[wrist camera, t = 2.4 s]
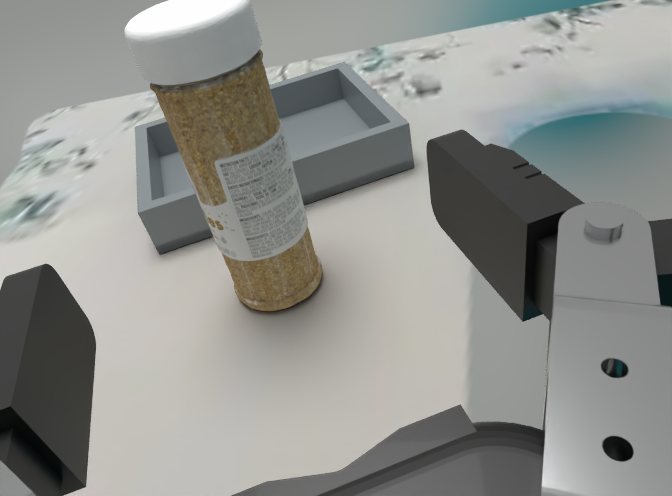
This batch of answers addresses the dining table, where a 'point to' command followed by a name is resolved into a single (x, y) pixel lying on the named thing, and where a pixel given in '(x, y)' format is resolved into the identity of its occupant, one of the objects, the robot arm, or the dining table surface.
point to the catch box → (303, 143)
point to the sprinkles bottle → (230, 142)
